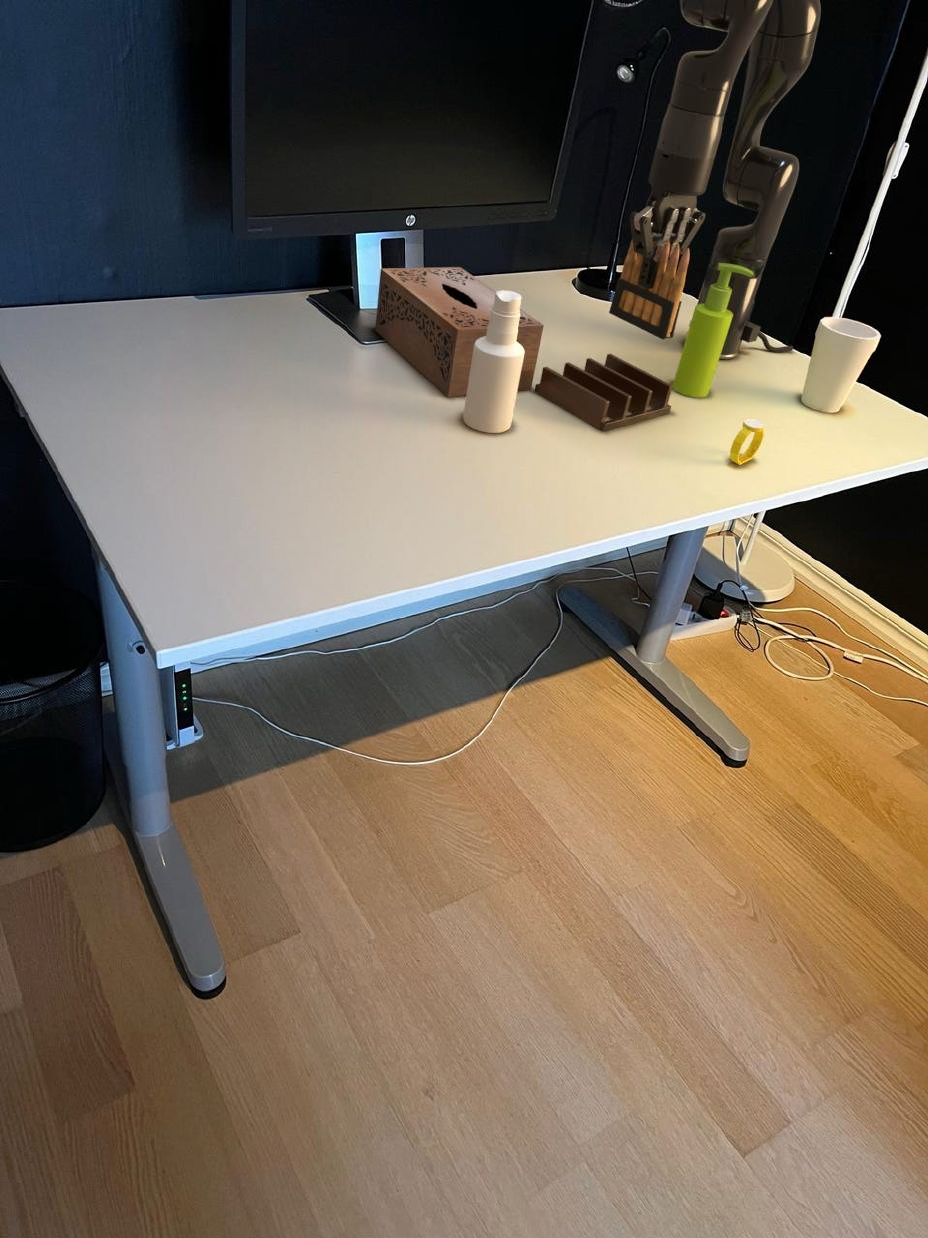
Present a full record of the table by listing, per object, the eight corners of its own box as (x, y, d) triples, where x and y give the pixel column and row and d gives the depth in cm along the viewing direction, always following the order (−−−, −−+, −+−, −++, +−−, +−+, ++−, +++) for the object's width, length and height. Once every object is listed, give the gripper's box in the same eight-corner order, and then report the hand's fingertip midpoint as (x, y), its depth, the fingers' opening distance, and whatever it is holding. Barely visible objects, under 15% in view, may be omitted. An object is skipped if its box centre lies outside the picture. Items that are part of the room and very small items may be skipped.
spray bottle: (516, 420, 133) (540, 294, 122) (502, 438, 127) (526, 308, 116) (471, 407, 134) (491, 281, 123) (455, 425, 128) (475, 295, 118)
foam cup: (802, 387, 160) (831, 312, 152) (855, 406, 156) (887, 330, 149) (784, 401, 153) (813, 324, 146) (838, 421, 150) (871, 343, 142)
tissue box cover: (531, 389, 142) (543, 325, 136) (448, 396, 136) (457, 329, 130) (452, 326, 159) (460, 266, 153) (375, 330, 153) (380, 268, 147)
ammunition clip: (672, 338, 129) (698, 249, 122) (664, 340, 128) (689, 250, 121) (617, 311, 135) (638, 225, 128) (608, 312, 134) (629, 225, 127)
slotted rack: (600, 376, 151) (606, 351, 148) (669, 413, 143) (677, 387, 140) (534, 391, 142) (539, 365, 139) (603, 431, 134) (610, 404, 131)
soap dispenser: (714, 401, 149) (755, 275, 137) (672, 392, 150) (709, 265, 138) (714, 388, 154) (753, 264, 142) (672, 379, 154) (708, 255, 142)
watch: (744, 452, 135) (757, 414, 131) (760, 460, 134) (774, 422, 130) (721, 461, 131) (734, 423, 128) (737, 470, 130) (751, 431, 126)
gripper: (696, 141, 124) (661, 273, 134) (628, 141, 116) (597, 281, 127) (741, 156, 120) (702, 291, 130) (674, 157, 112) (637, 300, 122)
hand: (650, 285), depth 128 cm, fingers closed on ammunition clip, 1 cm apart
